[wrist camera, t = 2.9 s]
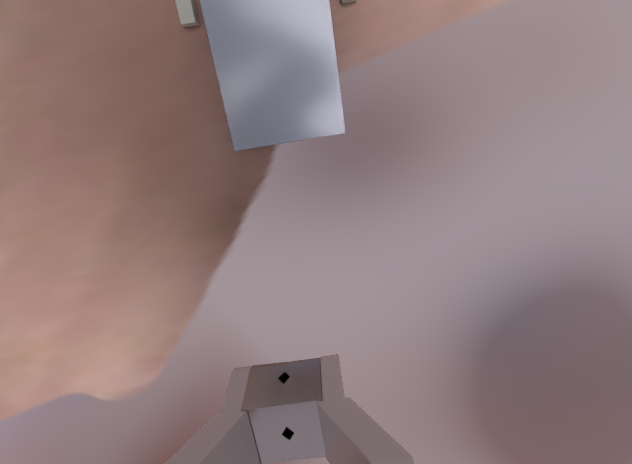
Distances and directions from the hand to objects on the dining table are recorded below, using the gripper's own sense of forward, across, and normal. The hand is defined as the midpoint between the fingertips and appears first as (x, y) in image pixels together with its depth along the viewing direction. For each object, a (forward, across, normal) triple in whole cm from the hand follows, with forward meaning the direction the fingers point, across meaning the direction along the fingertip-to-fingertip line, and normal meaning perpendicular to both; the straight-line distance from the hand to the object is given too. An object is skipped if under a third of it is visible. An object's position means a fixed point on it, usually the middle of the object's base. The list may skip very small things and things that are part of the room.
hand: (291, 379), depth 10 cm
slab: (+21, 0, -10) cm, 23 cm away
